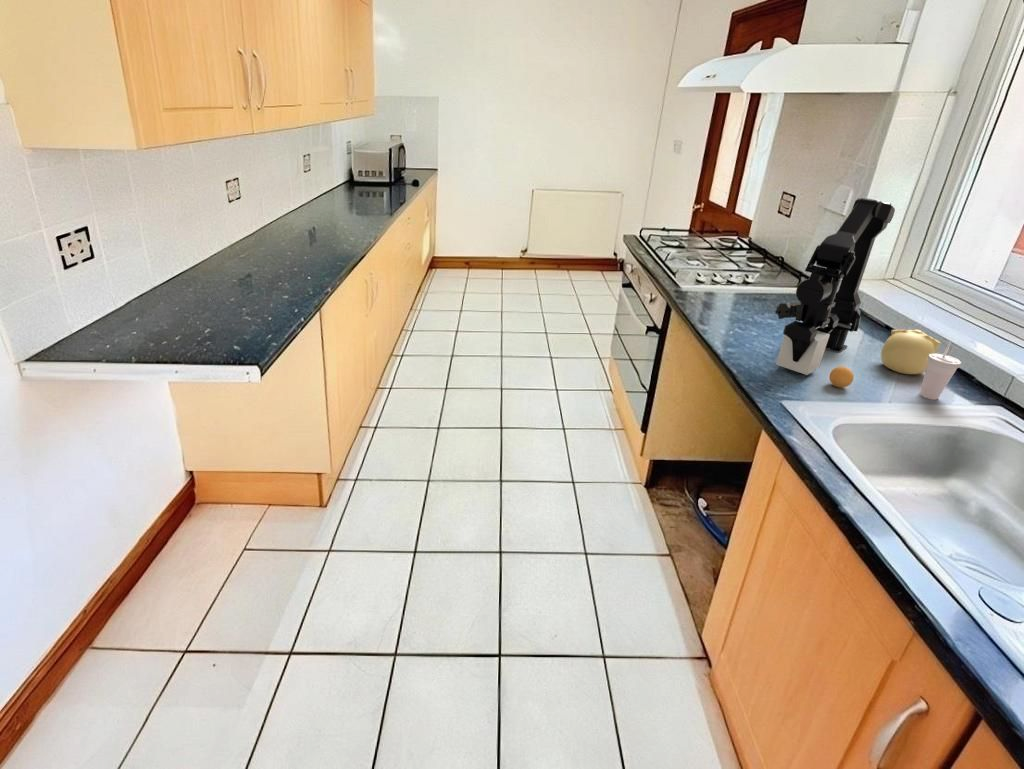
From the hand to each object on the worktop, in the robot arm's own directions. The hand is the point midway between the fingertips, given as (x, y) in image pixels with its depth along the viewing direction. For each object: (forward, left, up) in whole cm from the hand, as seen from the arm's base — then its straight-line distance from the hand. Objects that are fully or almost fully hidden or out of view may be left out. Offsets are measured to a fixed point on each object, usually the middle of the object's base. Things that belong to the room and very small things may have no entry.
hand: (801, 357), depth 141 cm
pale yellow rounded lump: (-26, +17, -4) cm, 31 cm away
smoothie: (-13, +26, -4) cm, 29 cm away
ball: (0, +10, -2) cm, 10 cm away
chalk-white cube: (0, 0, -2) cm, 2 cm away
